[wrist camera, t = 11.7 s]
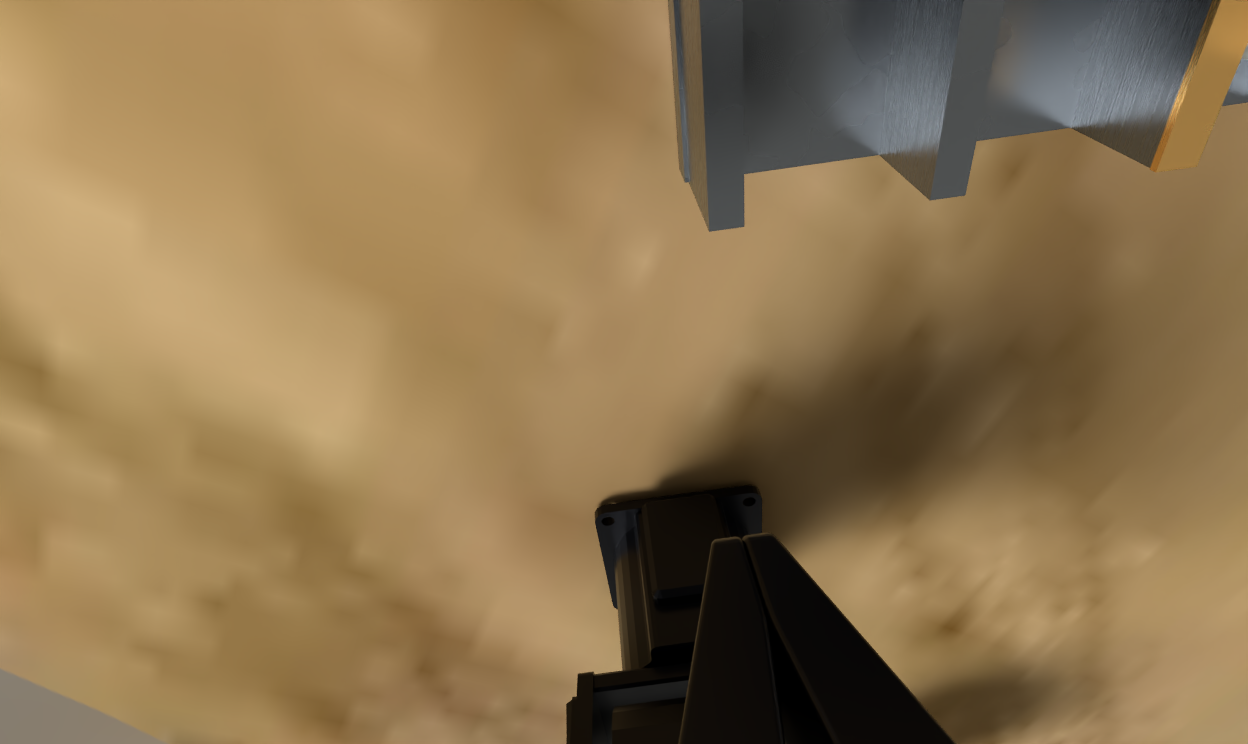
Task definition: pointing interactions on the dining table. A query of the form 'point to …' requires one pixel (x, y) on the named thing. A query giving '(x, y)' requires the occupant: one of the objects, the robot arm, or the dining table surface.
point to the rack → (941, 83)
